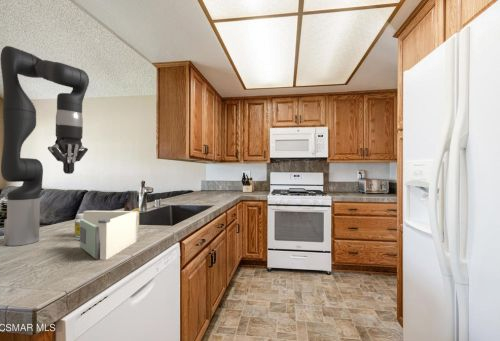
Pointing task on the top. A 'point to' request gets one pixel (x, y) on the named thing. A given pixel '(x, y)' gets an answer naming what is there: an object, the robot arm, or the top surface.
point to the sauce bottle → (132, 203)
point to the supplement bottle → (78, 225)
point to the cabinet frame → (114, 230)
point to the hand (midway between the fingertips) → (68, 173)
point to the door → (89, 238)
